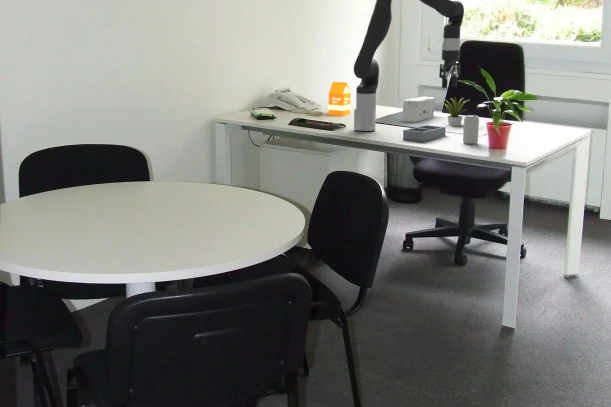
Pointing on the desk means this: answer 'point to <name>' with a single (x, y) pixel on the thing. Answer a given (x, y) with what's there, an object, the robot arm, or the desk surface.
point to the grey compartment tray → (423, 133)
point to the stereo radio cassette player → (418, 108)
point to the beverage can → (471, 129)
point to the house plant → (455, 112)
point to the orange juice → (339, 99)
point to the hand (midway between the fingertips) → (449, 87)
